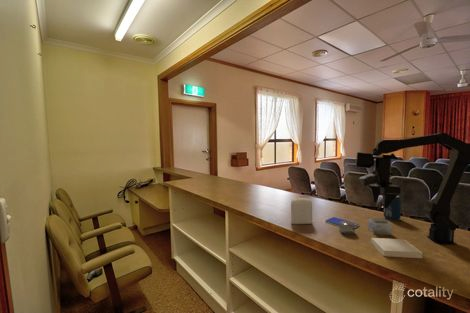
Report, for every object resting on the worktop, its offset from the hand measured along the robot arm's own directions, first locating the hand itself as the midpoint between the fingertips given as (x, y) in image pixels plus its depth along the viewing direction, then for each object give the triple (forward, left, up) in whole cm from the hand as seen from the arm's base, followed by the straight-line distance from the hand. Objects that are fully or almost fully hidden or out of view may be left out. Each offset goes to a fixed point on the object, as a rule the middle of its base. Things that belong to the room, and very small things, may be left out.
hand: (380, 204), depth 96 cm
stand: (+2, +16, -12) cm, 20 cm away
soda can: (-14, -18, -13) cm, 26 cm away
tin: (+14, +2, -12) cm, 19 cm away
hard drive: (+13, -8, -13) cm, 20 cm away
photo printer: (+32, -7, -13) cm, 35 cm away
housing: (0, 0, -12) cm, 12 cm away
